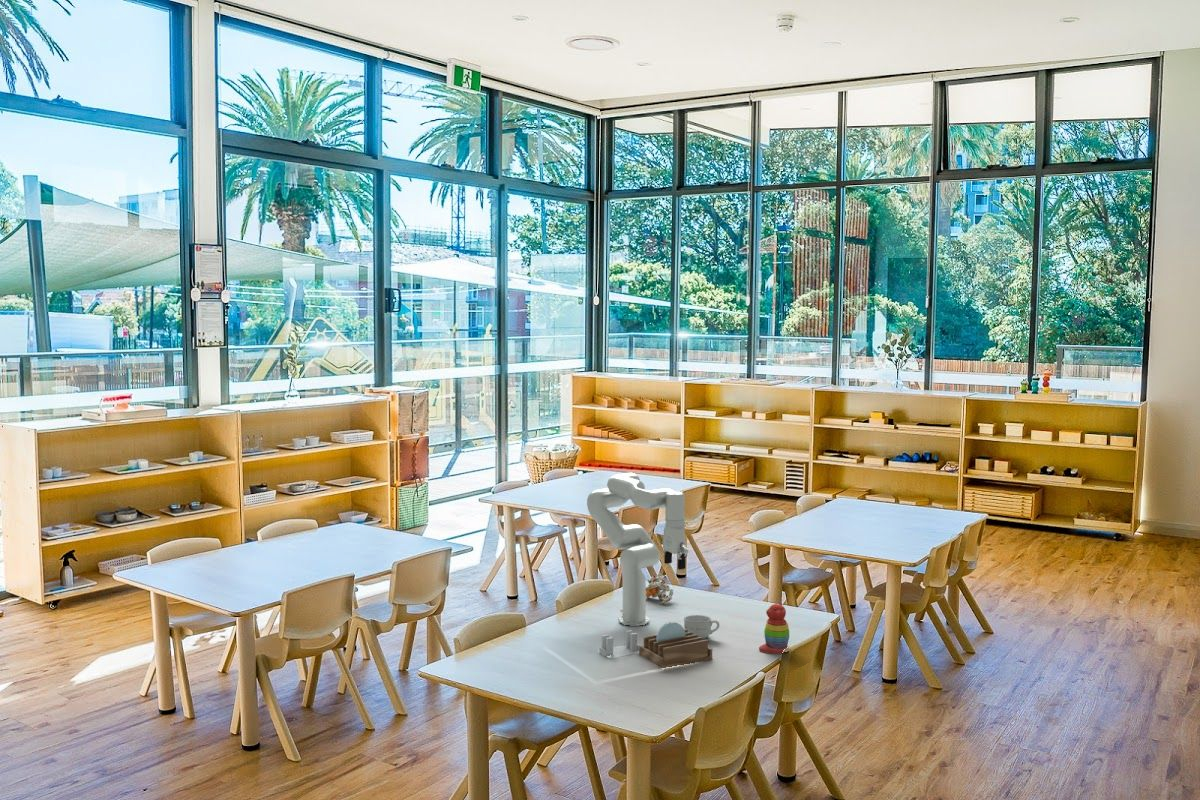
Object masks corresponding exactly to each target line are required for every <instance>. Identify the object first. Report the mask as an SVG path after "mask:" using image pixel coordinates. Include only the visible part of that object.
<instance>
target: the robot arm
mask: <svg viewBox="0 0 1200 800" xmlns="http://www.w3.org/2000/svg"><path fill="white" fill-rule="evenodd" d="M606 485H607V486H606V487H603V488H599V489H595V490H593V491H590V493H589V494H588V495H587V499H586V506H587V511H588V513H589V515H590V516H591V518H592V520H594V521H595V523H597V525H598V526H599V527H600V528H601V530H602V531H603V533H604V534H605V536H606V537H607V539H608V541H609V542H610V544H611V546H613V548H615V549H616V550H622V551H621V553H620V556H619V561H620V566H621V575H622V576H621V578H622V608H621V609H620V613H622V614H621V615H622V616H620V617H618V623H619V622H620V623H622V624H625V625H624V626H626V625H630V626H629V627H640V626H639V625H643V626H646V625H648V624H649V623H650V618H649V617H648V616H647V615H646V612H647V611H646V610H647V609H646V604H647V601H646V600H647V598H646V587H647V586H646V585H647V583H646V581H647V580H646V576H645V575H644V573H643V570H642V569H646V568H650V567H653V566H655V565H657V564H658V563H659V561H660V559H661V555H660V551H659V549H658V546H657V544H655V541H653V539H652V537H651V536H650V535H649V534H648V531H646V529H645V528H644V527H643V526H641V525H639V524H638V523H635V524H634V523H631V524H624V523H623V522H622V521H621V519H620V517H619V516H617V515H616V513H614V512H612V511H611V510H609V509H611V508H616V507H621V506H623V505H624V504H626V503H627V502H628V501H629V500H630V501H631V503H632V504H634V506H636V507H638V508H641V509H643V510H644V509H645V510H649V511H650V510H657V509H662V508H663V509H664V508H665V509H664V510H665V512H664V513H665V516H664V517H665V519H664V521H665V524H664V529H663V537H662V540H661V543H662V549H663V553H664V556H663V557H664V563H663V564H665V565H667V564H672V561H673V555H677V557H678V558H677V569H678V570H684V569H686V559H687V556H688V553H689V549H688V547H687V545H686V544H687V543H686V542H687V541H686V531H685V529H686V528H685V525H686V524H685V516H686V515H685V512H686V509H685V508H686V507H685V504H686V503H685V501H686V500H685V499H686V498H685V493H684V492H682V491H679V490H676V491H675V490H673V489H672V488H668V487H662V488H655V489H651V490H646V487H645V484H644V482H643V481H642V480H641V479H640V477H639V475H638V474H636V473H633V472H625V473H624V472H623V473H619V474H614V475H612V476H610V477H609V479H608V480H607V482H606ZM620 623H619V624H620ZM647 623H648V624H647ZM622 624H621V625H622ZM645 624H646V625H645Z"/></svg>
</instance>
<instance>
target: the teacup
mask: <svg viewBox="0 0 1200 800" xmlns="http://www.w3.org/2000/svg"><path fill="white" fill-rule="evenodd" d="M683 620H684V621H683V623H684V625H683V628H684V630H685V629H687V630H688V632H693V635H695V634H697V635H698V637H703V640H706V639H707V638H708V636H710V635H712V634H713V633H715V632H716V631H718V630H719V628H720V621H718V620H716V619H713V620H712V618H711V617H710V616H707V615H704V614H703V615H702V614H701V615H700V614H699V615H698V614H694V615H693V614H691V615H687V616H685V617H684V618H683ZM713 623H714V624H716V627H715V628H714V629H712V626H713Z"/></svg>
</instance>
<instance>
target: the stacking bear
mask: <svg viewBox="0 0 1200 800" xmlns="http://www.w3.org/2000/svg"><path fill="white" fill-rule="evenodd" d="M765 613H766V616H767V617H768V619H767V620H766V622H765V627H764V631H763V632H764V634H763V635H764V641H765V643H764V644H762V645H760V646H759V647H758V650H759V651H760V652H762V653H766V654H773V655H782V652H783V650H784V649H786V648H787V647H788V648H789V645H788V643H789V640H790V628H789V624H788V622H787V620H786V619H785V618H786V614H787V611H786V608H785V607H784V606H783V604H782V603H781V602H779V603H774V604H772V605H770V607H768V609H766V610H765ZM759 651H758V652H759Z"/></svg>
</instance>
